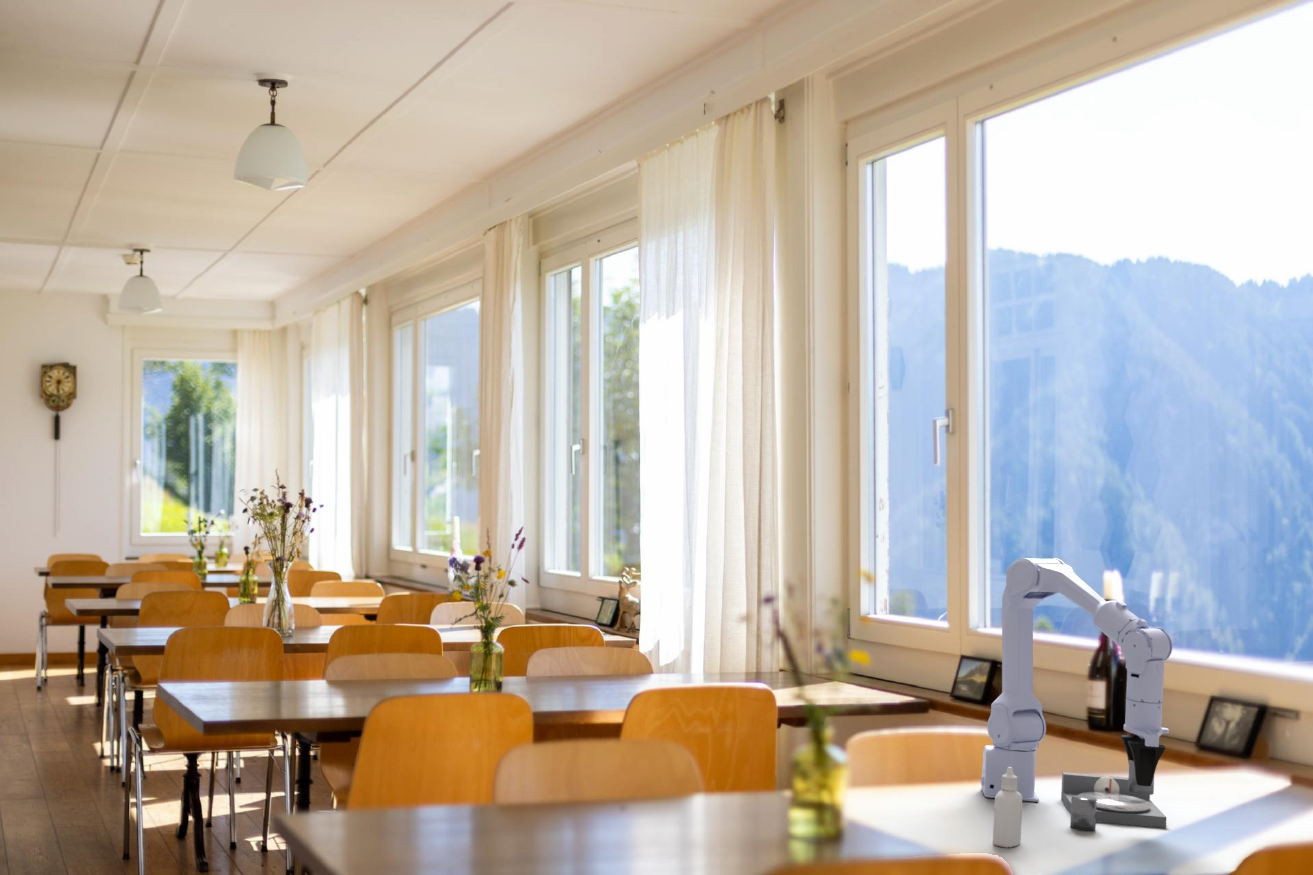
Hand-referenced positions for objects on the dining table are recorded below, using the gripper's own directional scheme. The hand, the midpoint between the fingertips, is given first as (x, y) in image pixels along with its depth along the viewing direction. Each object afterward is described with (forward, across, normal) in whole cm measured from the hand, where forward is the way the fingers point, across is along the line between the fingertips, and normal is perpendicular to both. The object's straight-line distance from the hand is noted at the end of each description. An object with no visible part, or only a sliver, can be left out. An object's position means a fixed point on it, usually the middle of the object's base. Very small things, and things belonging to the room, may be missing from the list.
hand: (1140, 782), depth 217 cm
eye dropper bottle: (+9, -15, +23) cm, 29 cm away
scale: (+8, +13, +2) cm, 16 cm away
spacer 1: (+8, 0, +9) cm, 12 cm away
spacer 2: (+2, 0, 0) cm, 2 cm away
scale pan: (+6, +12, +2) cm, 13 cm away
